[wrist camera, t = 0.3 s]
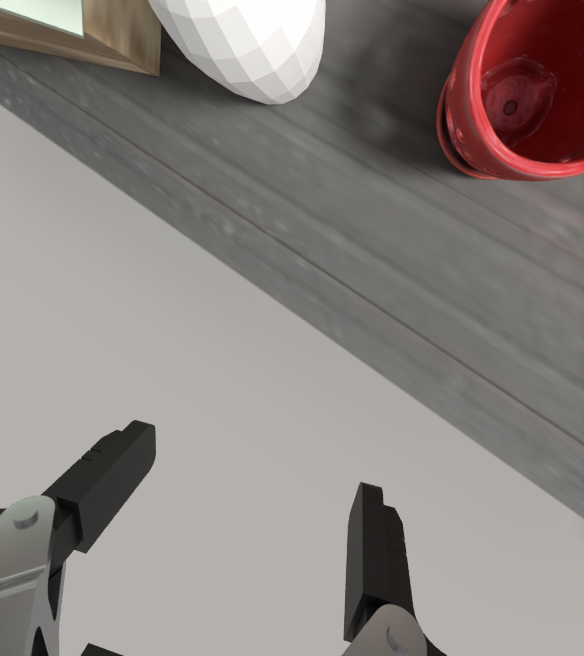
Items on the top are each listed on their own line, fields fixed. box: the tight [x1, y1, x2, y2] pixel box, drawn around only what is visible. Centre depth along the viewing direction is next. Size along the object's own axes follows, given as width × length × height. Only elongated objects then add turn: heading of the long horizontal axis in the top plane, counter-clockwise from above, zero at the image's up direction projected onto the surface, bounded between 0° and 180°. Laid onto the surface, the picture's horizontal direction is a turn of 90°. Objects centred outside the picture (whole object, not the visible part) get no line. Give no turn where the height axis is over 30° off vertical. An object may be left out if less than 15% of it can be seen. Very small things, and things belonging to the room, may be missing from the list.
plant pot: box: [436, 0, 584, 181], centre depth 24 cm, size 13×13×12 cm
